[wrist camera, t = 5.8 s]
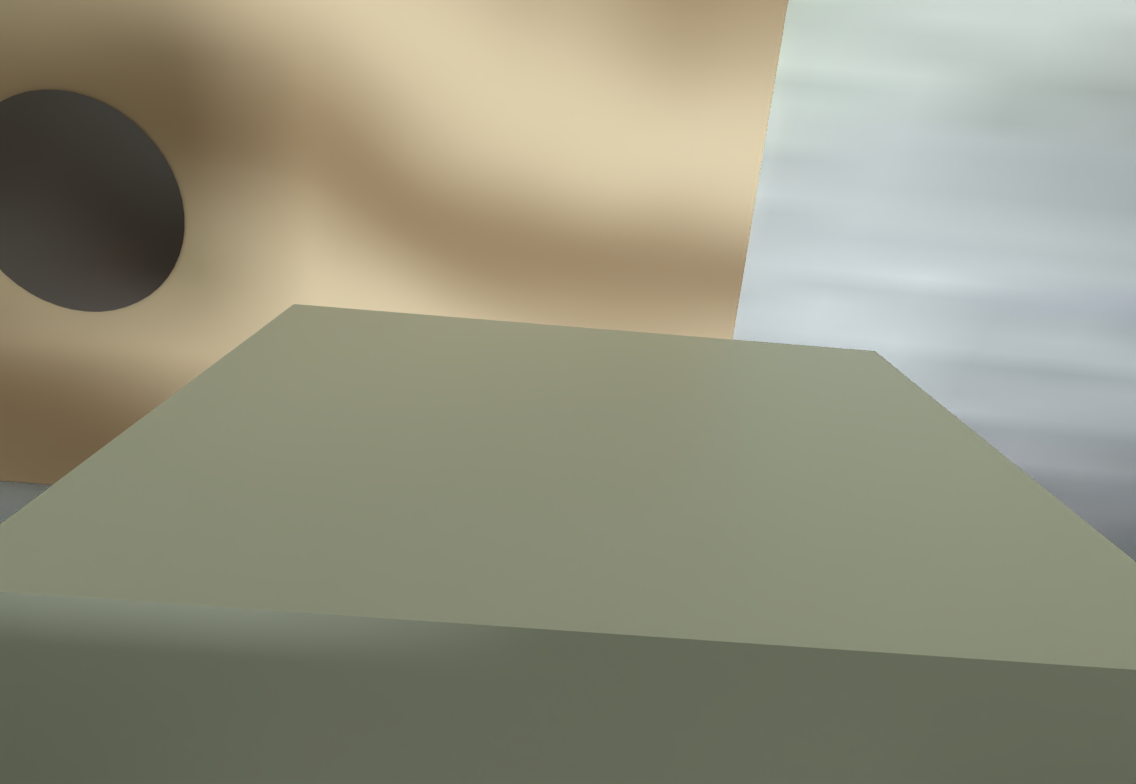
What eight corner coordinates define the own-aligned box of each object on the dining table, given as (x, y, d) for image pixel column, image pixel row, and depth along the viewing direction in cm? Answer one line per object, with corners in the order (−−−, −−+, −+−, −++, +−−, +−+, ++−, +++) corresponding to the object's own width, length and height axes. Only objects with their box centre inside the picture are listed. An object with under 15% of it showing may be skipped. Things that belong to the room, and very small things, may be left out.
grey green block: (774, 791, 10) (948, 1366, 6) (309, 762, 10) (89, 1333, 5) (874, 350, 8) (1281, 678, 4) (294, 303, 8) (-82, 584, 3)
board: (699, 526, 21) (701, 531, 20) (-7, 476, 20) (-14, 480, 20) (818, -206, 15) (822, -211, 15) (-152, -311, 15) (-163, -318, 14)
